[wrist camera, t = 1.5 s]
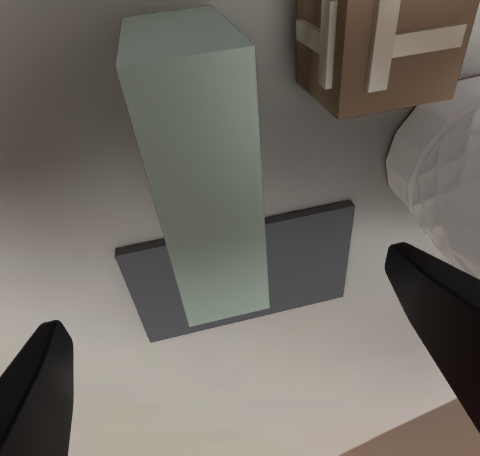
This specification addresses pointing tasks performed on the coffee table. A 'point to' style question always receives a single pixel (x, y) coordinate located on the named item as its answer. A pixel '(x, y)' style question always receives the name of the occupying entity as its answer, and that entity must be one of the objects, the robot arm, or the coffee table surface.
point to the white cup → (443, 173)
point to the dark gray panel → (278, 265)
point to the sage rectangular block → (200, 153)
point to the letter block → (381, 52)
